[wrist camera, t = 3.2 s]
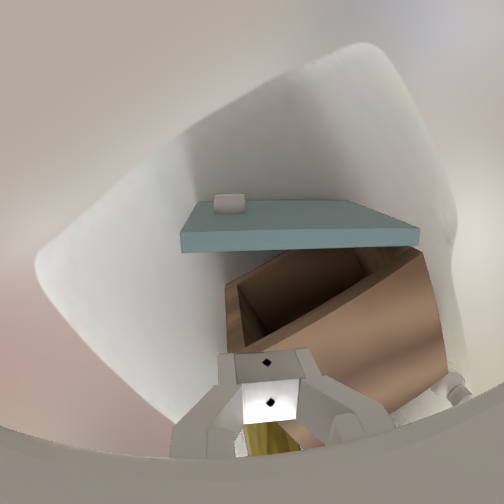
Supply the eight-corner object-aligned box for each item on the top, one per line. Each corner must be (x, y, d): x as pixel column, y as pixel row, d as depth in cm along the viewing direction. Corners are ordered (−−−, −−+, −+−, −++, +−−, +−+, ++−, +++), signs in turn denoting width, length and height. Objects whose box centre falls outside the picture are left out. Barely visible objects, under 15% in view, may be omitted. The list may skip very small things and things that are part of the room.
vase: (249, 383, 32) (265, 491, 18) (298, 391, 33) (331, 490, 19) (232, 417, 33) (241, 517, 19) (278, 423, 34) (300, 517, 21)
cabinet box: (386, 309, 31) (448, 373, 19) (284, 370, 31) (310, 455, 20) (346, 214, 27) (422, 252, 16) (224, 286, 28) (228, 368, 16)
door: (346, 211, 26) (417, 245, 16) (198, 213, 25) (181, 252, 14) (347, 188, 26) (421, 209, 15) (197, 188, 25) (178, 209, 14)
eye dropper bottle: (428, 330, 32) (484, 385, 21) (437, 354, 34) (486, 407, 23) (401, 351, 33) (452, 413, 21) (412, 374, 34) (457, 431, 23)
